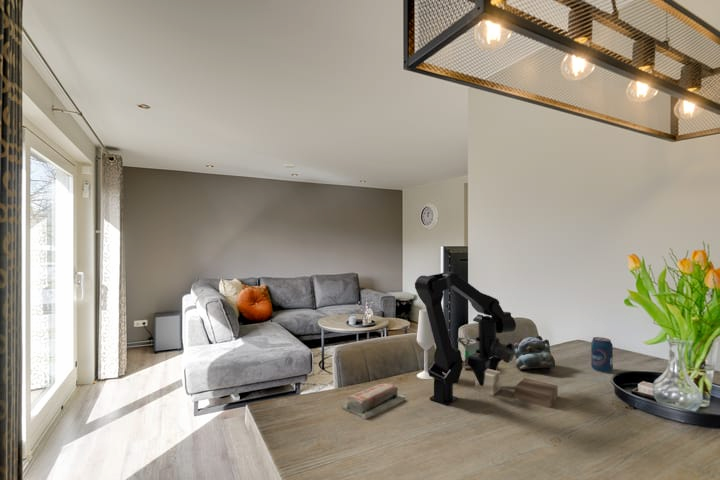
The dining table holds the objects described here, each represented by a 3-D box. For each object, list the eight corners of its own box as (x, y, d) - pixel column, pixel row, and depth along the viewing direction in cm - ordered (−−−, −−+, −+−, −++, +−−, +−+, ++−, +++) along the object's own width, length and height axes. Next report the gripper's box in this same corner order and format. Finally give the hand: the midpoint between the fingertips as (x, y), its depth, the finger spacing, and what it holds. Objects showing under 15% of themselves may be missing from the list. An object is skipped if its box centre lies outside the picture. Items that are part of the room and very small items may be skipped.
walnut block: (549, 409, 107) (549, 395, 108) (514, 399, 114) (514, 386, 114) (557, 398, 115) (557, 385, 115) (524, 390, 122) (524, 378, 122)
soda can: (587, 369, 141) (587, 338, 141) (596, 366, 145) (596, 335, 145) (607, 374, 135) (607, 342, 135) (616, 371, 139) (615, 339, 139)
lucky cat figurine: (510, 369, 140) (504, 333, 147) (521, 374, 148) (516, 340, 154) (551, 366, 131) (543, 328, 138) (561, 372, 139) (553, 335, 146)
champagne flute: (435, 379, 130) (435, 312, 130) (416, 378, 131) (416, 312, 131) (434, 373, 136) (434, 309, 137) (416, 372, 137) (416, 308, 138)
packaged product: (365, 404, 100) (341, 393, 107) (365, 421, 100) (341, 410, 107) (405, 386, 113) (381, 377, 120) (405, 401, 113) (381, 392, 120)
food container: (482, 371, 138) (481, 345, 138) (465, 371, 138) (465, 345, 138) (472, 361, 150) (472, 337, 151) (457, 361, 151) (457, 337, 151)
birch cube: (493, 395, 117) (492, 376, 117) (475, 390, 121) (475, 372, 121) (500, 389, 121) (500, 371, 121) (482, 385, 125) (482, 367, 125)
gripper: (500, 344, 109) (501, 397, 109) (521, 333, 123) (522, 379, 122) (466, 338, 116) (466, 387, 116) (489, 328, 130) (489, 372, 130)
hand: (487, 381), depth 121 cm, fingers open, 9 cm apart
